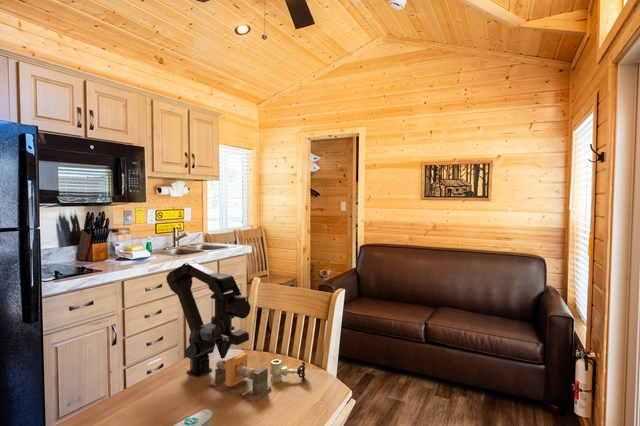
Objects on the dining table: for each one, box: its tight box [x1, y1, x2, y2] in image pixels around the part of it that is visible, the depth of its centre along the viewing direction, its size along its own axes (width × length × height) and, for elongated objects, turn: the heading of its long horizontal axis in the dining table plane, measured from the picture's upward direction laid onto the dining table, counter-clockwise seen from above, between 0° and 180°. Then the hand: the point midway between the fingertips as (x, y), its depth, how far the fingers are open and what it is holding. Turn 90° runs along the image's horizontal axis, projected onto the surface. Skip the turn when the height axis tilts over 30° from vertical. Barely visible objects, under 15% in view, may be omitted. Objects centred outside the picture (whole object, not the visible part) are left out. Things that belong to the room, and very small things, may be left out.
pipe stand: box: [206, 358, 272, 403], centre depth 125 cm, size 20×9×8 cm, turn 59°
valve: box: [269, 359, 306, 383], centre depth 131 cm, size 7×7×12 cm
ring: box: [226, 352, 248, 387], centre depth 126 cm, size 2×8×8 cm, turn 149°
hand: (222, 358), depth 129 cm, fingers closed
